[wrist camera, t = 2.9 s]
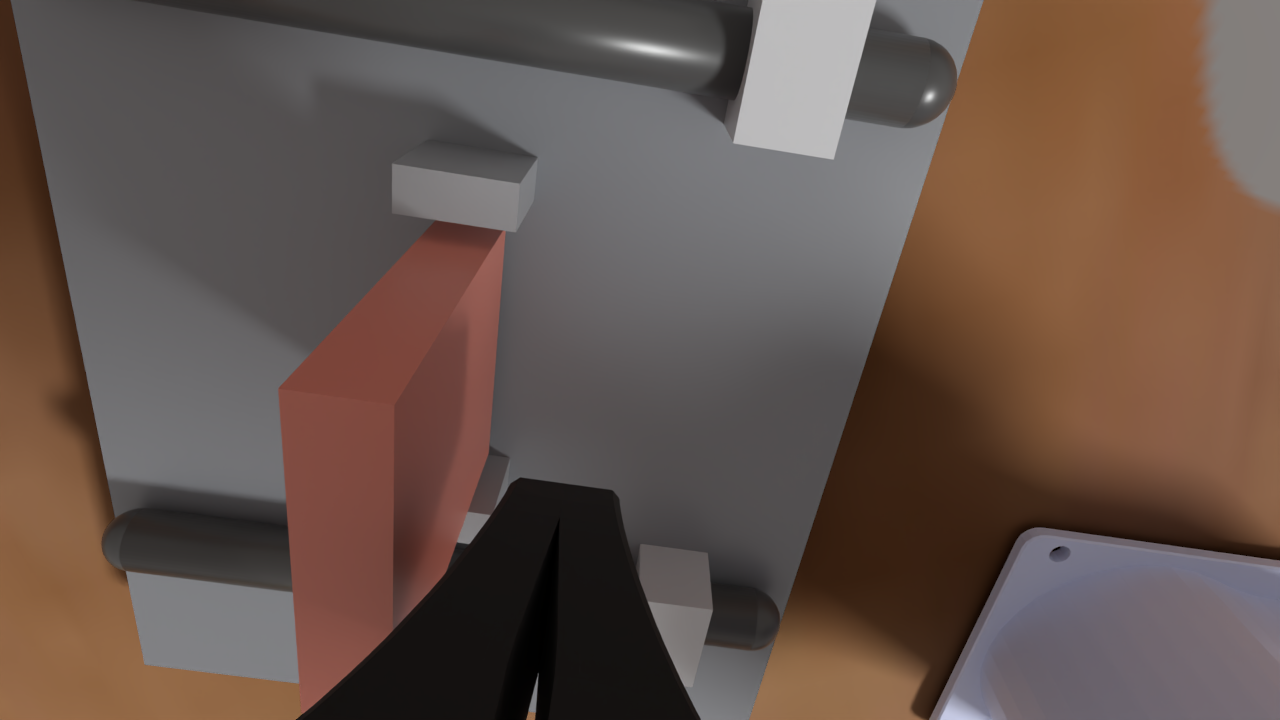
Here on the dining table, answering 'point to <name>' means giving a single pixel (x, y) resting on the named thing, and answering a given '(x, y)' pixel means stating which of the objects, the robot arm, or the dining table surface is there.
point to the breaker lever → (388, 447)
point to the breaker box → (531, 280)
